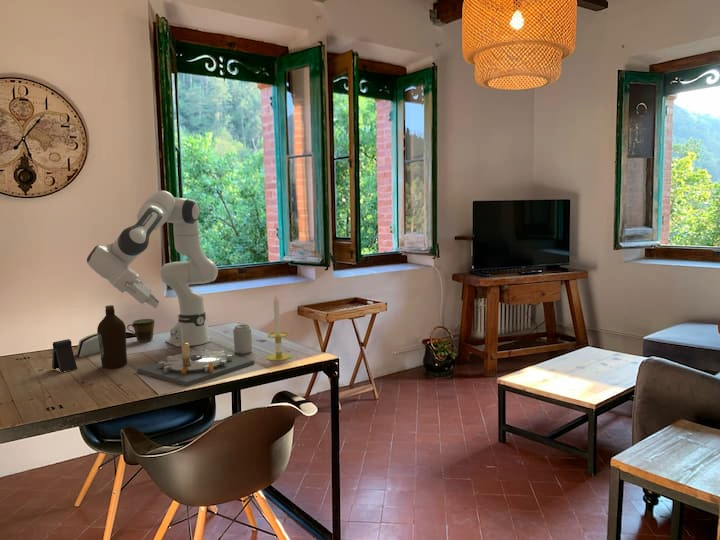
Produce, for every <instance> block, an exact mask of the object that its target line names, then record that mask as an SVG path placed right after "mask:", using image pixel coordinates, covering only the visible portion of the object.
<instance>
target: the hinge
mask: <svg viewBox="0 0 720 540" xmlns="http://www.w3.org/2000/svg"><path fill="white" fill-rule="evenodd" d="M98 353H100V347H99V340H98V334H97V332H95V333H92V334H91V333H90V334H88V335H86V336H84V337H83V338H81V339H80V340H79V342H78V346H77V348H76V351H75V352H74V353H73V354H74V357H76V356H78V358H83V357H88V356H91V355H95V354H98Z"/></svg>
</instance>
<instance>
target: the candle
mask: <svg viewBox="0 0 720 540" xmlns="http://www.w3.org/2000/svg"><path fill="white" fill-rule="evenodd" d="M273 314H274V315H273V316H274V331H275V332H271V333H269V334H268V335H267V337H268V338H270V339H271V338H272V339H274V340H275V341H274V343H275V344H274V345H275V353H274V354H271V355H268V356H267V357H266V359H267V360H268V361H271V362H272V361H273V362H279V361H287V360H289V359H291V357H292V355H291V354H289V353H283V349H282V348H283V347H282V344H283V343H282V338H286V337H288V335H289V333H288V332H286V331H285V332H283V331H281V320H280V319H281V317H280V315H281V314H280V301H279V299H278V295H275V297H274V299H273Z"/></svg>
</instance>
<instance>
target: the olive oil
mask: <svg viewBox="0 0 720 540" xmlns="http://www.w3.org/2000/svg"><path fill="white" fill-rule="evenodd" d="M115 313H116V312H115V306H114V305H109V304H108V305H105V316H104V317H103V318H102V319H101V321H100V322H98V326H97V328H96V329H97V332H96V333H97V334H98V340H99V347H100V352H99V354H100V360H101V361H100V362H101V368H102V369H105V370H106V369H107V370H112V369H113V370H114V369H119V368H122V367H123V368H124V367H125V366H127V365H128V358H127V357H128V356H127V355H128V354H127V334H126V333H127V330H126V329H127V326H126V324H125V322H124V321H123V319H121V318H120V317H119V316H117V315H116V314H115Z"/></svg>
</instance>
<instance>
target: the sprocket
mask: <svg viewBox="0 0 720 540" xmlns="http://www.w3.org/2000/svg"><path fill="white" fill-rule="evenodd" d="M180 347H181V353H180V354H175V355H167V356H166V358H165V360H162V361H163V362H162V361H158V363H159V368H164V372H165V373H168V372H178V373H182V374H187V373H190V372H200V371H205V372H208V371H209V362H213V369H214V368H217V367H220V366H223V367H225V366H227V361H231V360H232V356H233V355H232V354H226V350H220V351H217V350H216V351H215V350H210V349H203V350H204V351H202V350H197V351H190V346H189V342H184V343H181V346H180Z"/></svg>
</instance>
